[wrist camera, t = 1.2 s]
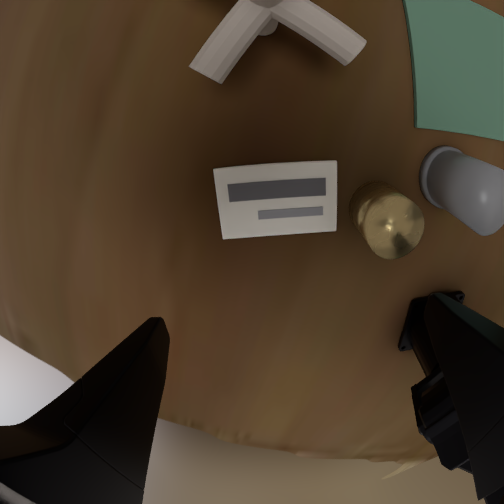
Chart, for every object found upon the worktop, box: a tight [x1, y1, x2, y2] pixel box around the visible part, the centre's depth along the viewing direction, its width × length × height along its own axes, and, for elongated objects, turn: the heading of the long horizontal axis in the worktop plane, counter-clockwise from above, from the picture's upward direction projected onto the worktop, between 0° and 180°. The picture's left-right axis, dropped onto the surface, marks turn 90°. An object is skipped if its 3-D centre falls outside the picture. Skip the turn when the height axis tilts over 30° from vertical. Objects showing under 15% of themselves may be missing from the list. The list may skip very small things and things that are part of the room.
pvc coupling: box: [419, 145, 504, 236], centre depth 16 cm, size 5×5×6 cm
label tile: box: [213, 160, 337, 239], centre depth 19 cm, size 5×8×1 cm, turn 95°
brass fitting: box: [349, 181, 424, 259], centre depth 18 cm, size 4×4×4 cm
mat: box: [403, 0, 504, 141], centre depth 13 cm, size 12×12×1 cm
